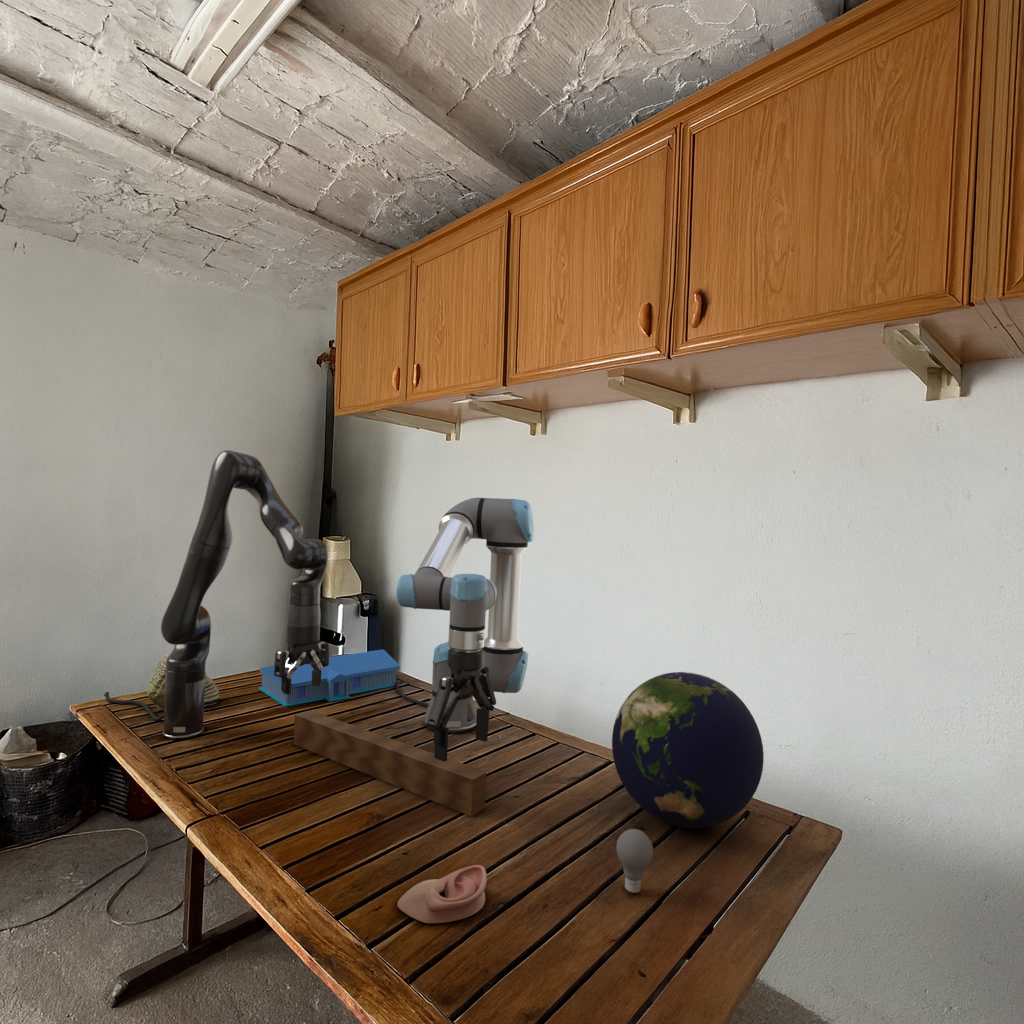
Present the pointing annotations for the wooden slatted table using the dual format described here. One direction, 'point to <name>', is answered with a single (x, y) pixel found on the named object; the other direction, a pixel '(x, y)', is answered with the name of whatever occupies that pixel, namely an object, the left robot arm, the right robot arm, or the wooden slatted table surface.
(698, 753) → the globe
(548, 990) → the wooden slatted table surface
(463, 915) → the anatomical model
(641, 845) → the light bulb
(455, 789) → the beam
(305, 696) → the model building
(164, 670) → the fossil
